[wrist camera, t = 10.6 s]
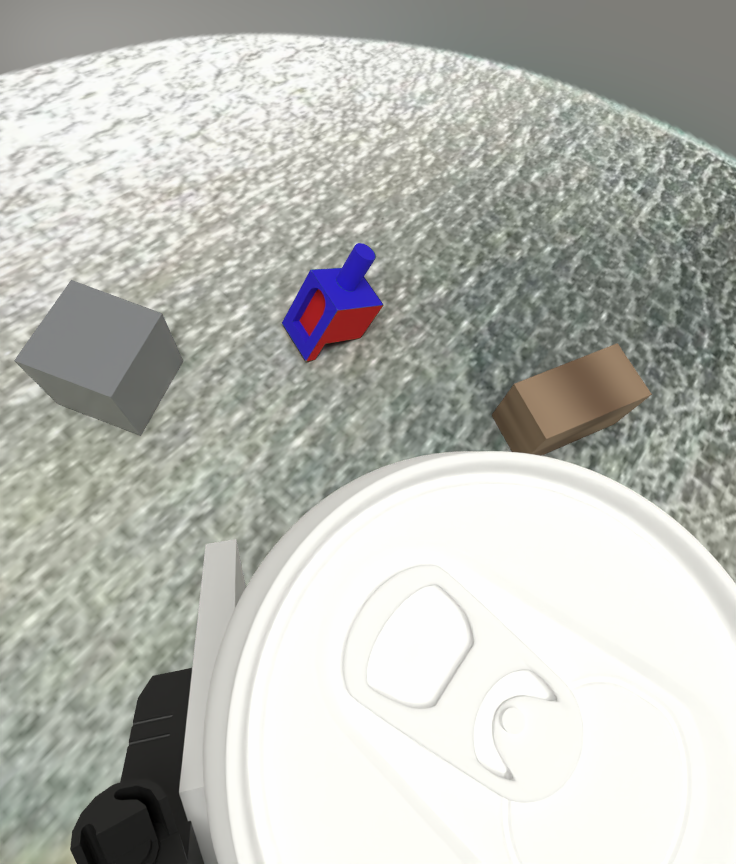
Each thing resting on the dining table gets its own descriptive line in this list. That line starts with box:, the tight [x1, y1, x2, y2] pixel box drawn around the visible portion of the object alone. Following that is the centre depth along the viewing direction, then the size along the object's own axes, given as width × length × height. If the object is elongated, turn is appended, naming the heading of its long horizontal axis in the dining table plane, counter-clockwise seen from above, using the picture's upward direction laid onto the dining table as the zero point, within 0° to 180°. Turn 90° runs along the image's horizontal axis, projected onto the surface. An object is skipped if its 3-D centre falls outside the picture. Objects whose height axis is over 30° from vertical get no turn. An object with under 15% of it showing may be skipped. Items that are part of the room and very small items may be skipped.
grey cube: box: [14, 280, 183, 436], centre depth 36 cm, size 6×6×6 cm
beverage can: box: [203, 451, 736, 864], centre depth 12 cm, size 8×8×12 cm
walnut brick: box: [492, 343, 652, 456], centre depth 38 cm, size 8×4×5 cm, turn 114°
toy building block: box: [282, 243, 383, 361], centre depth 39 cm, size 4×4×8 cm
